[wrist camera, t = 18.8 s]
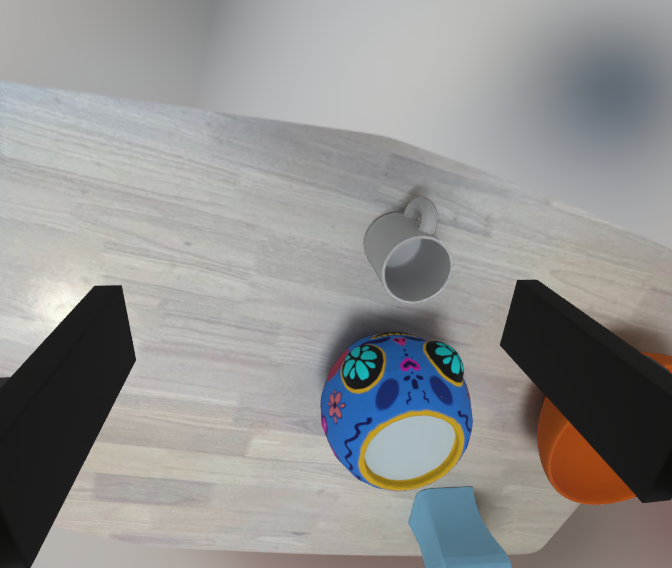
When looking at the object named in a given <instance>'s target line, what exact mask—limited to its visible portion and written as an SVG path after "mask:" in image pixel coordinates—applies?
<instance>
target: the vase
mask: <svg viewBox="0 0 672 568" xmlns="http://www.w3.org/2000/svg"><path fill="white" fill-rule="evenodd" d="M409 526H410V527H411V529H412V531H413V533H414V535H415V537H416V539H417V542H418V544H419V546H420V549H421V552H422V556H423V560H424V565H425V568H512V567H511V562H510V560H509V558H508V556H507V554H506V553H505V551H504V550H503V549H502V548H501V546H500V545H499V544H498V543H497V541H496V540H495V539H494V537H493V536H492V535H491V533H490V532H489V530H488V529H487V527H486V526H485V524H484V522H483V520H482V518H481V516H480V513H479V511H478V508H477V504H476V501H475V497H474V492H473V488H472V487H455V488H434V489H425V490H422V491H421V492H419V493H418V494H417V495H416V498H415V501H414V505H413V508H412V512H411V515H410V519H409Z"/></svg>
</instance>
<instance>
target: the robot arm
mask: <svg viewBox="0 0 672 568" xmlns="http://www.w3.org/2000/svg"><path fill="white" fill-rule="evenodd" d="M500 346H501V347H502V348H503V349H504V350H505V351H506V353H507V354H508V355H509V356H510V357H511V358H512V359H513V360H514V361H515V363H516V364H517V365H518V366H519V367H520V368H521V369H522V370H523V371H524V373H525V374H526V375H527V376H528V377H529V378H530V379H531V380H532V381H533V382H534V384H535V385H536V386H537V387H538V388H539V389H540V390H541V391H542V392H543V394H544V395H545V396H546V397H547V398H548V399H549V400H550V401H551V402H552V403H553V405H554V406H555V407H556V408H557V409H558V410H559V411H560V412H561V413H562V415H563V416H564V417H565V418H566V419H567V420H568V421H569V422H570V423H571V424H572V426H573V427H574V428H575V429H576V430H577V431H578V432H579V433H580V434H581V436H582V437H583V438H584V439H585V440H586V441H587V442H588V443H589V444H590V445H591V447H592V448H593V449H594V450H595V451H596V452H597V453H598V454H599V455H600V457H601V458H602V459H603V460H604V461H605V462H606V463H607V464H608V465H609V466H610V468H611V469H612V470H613V471H614V472H615V473H616V474H617V475H618V476H619V478H620V479H621V480H622V481H623V482H624V483H625V484H626V485H627V486H628V488H629V489H630V490H631V491H632V492H633V493H634V494H635V495H636V496H637V497H638V499H639V500H640V501H641V502H642V503H649V502H657V501H666V500H671V499H672V373H670V372H669V371H670V370H668V369H667V368H665V367H664V366H662V365H661V364H660V363H658V362H657V361H655V360H654V359H652V358H650V357H648V356H646V355H644V354H642V353H640V352H639V351H638V350H636V349H635V348H633V347H632V346H630V345H629V344H628V343H626V342H625V341H623V340H622V339H621V338H619V337H618V336H616V335H615V334H613V333H612V332H611V331H609V330H608V329H606V328H605V327H603V326H602V325H601V324H599V323H598V322H596V321H595V320H594V319H592V318H591V317H589V316H588V315H586V314H585V313H584V312H582V311H581V310H579V309H578V308H576V307H575V306H574V305H572V304H571V303H569V302H568V301H567V300H565V299H564V298H562V297H561V296H559V295H558V294H557V293H555V292H554V291H552V290H551V289H550V288H548V287H547V286H545V285H544V284H542V283H541V282H540V281H538V280H517V283H516V287H515V290H514V294H513V298H512V302H511V305H510V309H509V313H508V316H507V320H506V324H505V328H504V331H503V335H502V339H501V343H500ZM135 361H136V357H135V352H134V346H133V341H132V336H131V331H130V326H129V320H128V315H127V310H126V305H125V300H124V294H123V289H122V285H112V286H94V287H93V288H92V289H91V290H90V291H89V292H88V294H87V295H86V296H85V297H84V298H83V299H82V300H81V301H80V302H79V303H78V304H77V306H76V307H75V308H74V309H73V310H72V311H71V312H70V313H69V314H68V315H67V316H66V318H65V319H64V320H63V321H62V322H61V323H60V324H59V325H58V326H57V327H56V328H55V330H54V331H53V332H52V333H51V334H50V335H49V336H48V337H47V338H46V339H45V340H44V342H43V343H42V344H41V345H40V346H39V347H38V348H37V349H36V350H35V351H34V352H33V354H32V355H31V356H30V357H29V358H28V359H27V360H26V361H25V362H24V363H23V364H22V366H21V367H20V368H19V369H18V370H17V371H16V372H15V373H14V374H13V375H12V376H11V377H5V378H0V568H31V566H32V564H33V562H34V560H35V558H36V556H37V554H38V552H39V550H40V548H41V546H42V544H43V542H44V540H45V538H46V536H47V535H48V532H49V530H50V528H51V527H52V525H53V523H54V521H55V519H56V517H57V515H58V513H59V511H60V509H61V507H62V505H63V503H64V501H65V499H66V497H67V495H68V493H69V491H70V489H71V487H72V485H73V483H74V481H75V479H76V477H77V475H78V473H79V471H80V469H81V467H82V466H83V464H84V462H85V460H86V458H87V456H88V454H89V452H90V450H91V448H92V446H93V444H94V442H95V440H96V438H97V436H98V434H99V432H100V430H101V428H102V426H103V424H104V422H105V420H106V418H107V416H108V414H109V412H110V410H111V408H112V406H113V404H114V402H115V400H116V398H117V397H118V395H119V393H120V391H121V389H122V387H123V385H124V383H125V381H126V379H127V377H128V375H129V373H130V371H131V369H132V367H133V365H134V363H135Z"/></svg>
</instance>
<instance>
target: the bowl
mask: <svg viewBox="0 0 672 568" xmlns="http://www.w3.org/2000/svg"><path fill="white" fill-rule="evenodd" d="M640 353H642V354H644V355H646V356H648V357H650V358H652V359H654V360H655V361H657V362H658V363H660V364H661V365H662V366H664V367H665V368H667V369H668V370H670V371H669V372H670V373H672V356H669V355H663V354H658V353H648V352H640ZM537 439H538V449H539V455H540V459H541V463H542V466H543V469H544V471H545V474H546V476H547V478H548V480H549V481H550V483H551V485H552V486H553V487H554V488H555V490H556V491H557V492H558V493H560V494H561V495H562V496H564V497H565V498H567V499H569V500H571V501H574V502H577V503H582V504H592V505H600V504H609V503H616V502H620V501H624V500H628V499H631V498H634V497H637V496H636V495H635V494H634V493H633V492H632V491H631V490H630V489H629V488H628V486H627V485H626V484H625V483H624V482H623V481H622V480H621V479H620V478H619V476H618V475H617V474H616V473H615V472H614V471H613V470H612V469H611V468H610V466H609V465H608V464H607V463H606V462H605V461H604V460H603V459H602V458H601V457H600V455H599V454H598V453H597V452H596V451H595V450H594V449H593V448H592V447H591V445H590V444H589V443H588V442H587V441H586V440H585V439H584V438H583V437H582V436H581V434H580V433H579V432H578V431H577V430H576V429H575V428H574V427H573V426H572V424H571V423H570V422H569V421H568V420H567V419H566V418H565V417H564V416H563V415H562V413H561V412H560V411H559V410H558V409H557V408H556V407H555V406H554V405H553V403H552V402H551V401H550V400H549V399H548V398H547V397H546V396H545V397H544V403H543V406H542V409H541V412H540V417H539V422H538V434H537Z"/></svg>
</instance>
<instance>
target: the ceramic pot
mask: <svg viewBox="0 0 672 568" xmlns="http://www.w3.org/2000/svg"><path fill="white" fill-rule="evenodd" d="M463 374H464V368H463V363H462V360H461V358H460V356H459V354H458V353H457V352H456V351H455V350H454V349H453V348H452V347H450V346H449V345H447V344H445V343H442V342H438V341H426V340H424V339H422V338H419V337H417V336H413V335H410V334H406V333H403V332H386V333H379V334H374V335H371V336H368V337H365V338H363V339H361V340H359V341H357V342H355V343H354V344H352V345H351V346H350V347H348V348H347V349H346V350H345V351H344V352H343V353H342V354H341V356H340V357H339V358H338V360H337V361H336V362H335V364H334V365H333V366H332V368H331V369H330V372H329V374H328V377H327V380H326V383H325V386H324V389H323V392H322V395H321V422H322V427H323V429H324V432H325V435H326V437H327V440H328V442H329V444H330V447H331V449H332V451H333V453H334V454H335V456H336V457H337V459H338V460H339V461H340V462H341V463H342V464H343V465H344V466H345V467H346V468H347V469H348V470H349V471H350V472H351V473H352V474H353V475H354V476H355V477H356V478H357V479H359V480H360V481H363V482H365V483H367V484H369V485H371V486H373V487H376V488H379V489H385V490H391V491H407V490H413V489H417V488H420V487H423V486H426V485H429V484H431V483H433V482H435V481H436V480H438V479H440V478H441V477H443V476H445V475H446V474H447V473H448V472H449V471H450V470H451V469H452V468H453V467H454V466H455V465H456V464H457V463H458V461H459V460H460V458H461V457H462V455H463V453H464V452H465V450H466V449H467V446H468V442H469V439H470V435H471V431H472V423H473V419H472V410H471V402H470V395H469V392H468V388H467V385H466V383H465V380H464V378H463Z"/></svg>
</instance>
